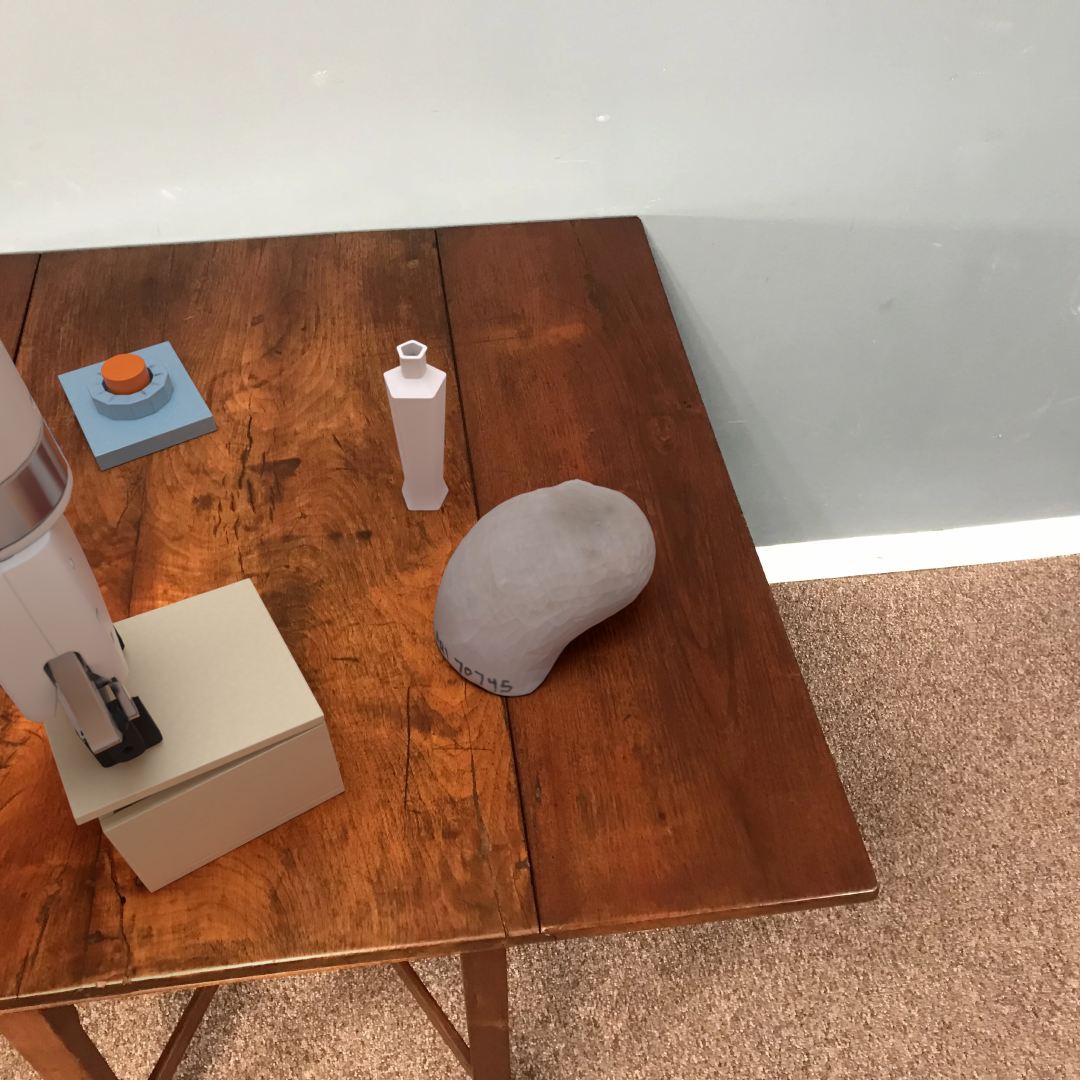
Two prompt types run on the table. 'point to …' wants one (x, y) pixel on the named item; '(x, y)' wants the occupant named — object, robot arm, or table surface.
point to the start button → (125, 374)
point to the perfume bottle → (419, 425)
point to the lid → (191, 698)
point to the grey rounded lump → (539, 581)
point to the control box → (138, 409)
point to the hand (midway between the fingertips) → (113, 701)
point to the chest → (224, 807)
